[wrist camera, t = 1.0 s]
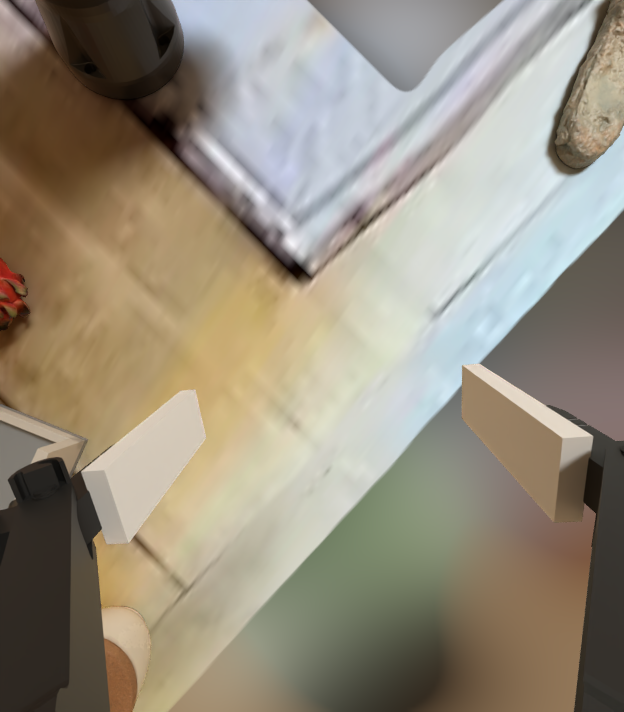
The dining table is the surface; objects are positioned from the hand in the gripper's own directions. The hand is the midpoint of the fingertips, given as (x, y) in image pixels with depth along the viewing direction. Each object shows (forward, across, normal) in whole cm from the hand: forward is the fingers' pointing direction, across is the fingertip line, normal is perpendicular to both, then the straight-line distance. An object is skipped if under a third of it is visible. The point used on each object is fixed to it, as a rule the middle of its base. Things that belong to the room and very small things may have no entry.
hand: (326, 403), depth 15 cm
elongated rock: (+41, +42, +30) cm, 66 cm away
